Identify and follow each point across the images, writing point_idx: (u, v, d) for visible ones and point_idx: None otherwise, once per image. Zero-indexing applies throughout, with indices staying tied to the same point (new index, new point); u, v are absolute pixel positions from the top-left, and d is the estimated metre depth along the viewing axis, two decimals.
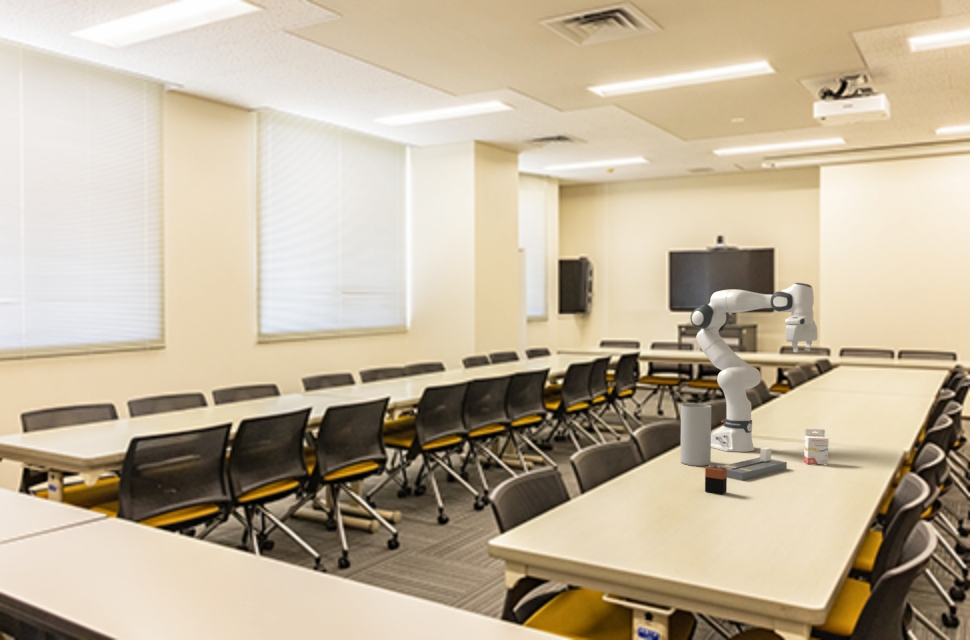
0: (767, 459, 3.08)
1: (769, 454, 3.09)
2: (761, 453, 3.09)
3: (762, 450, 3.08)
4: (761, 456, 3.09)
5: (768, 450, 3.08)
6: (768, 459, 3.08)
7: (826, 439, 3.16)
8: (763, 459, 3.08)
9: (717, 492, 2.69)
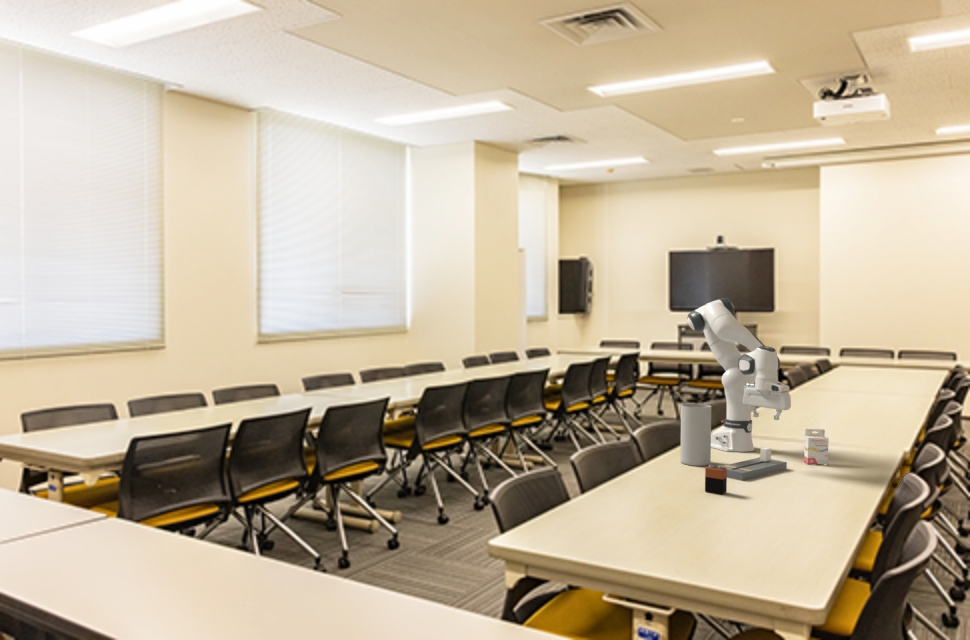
0: (767, 459, 3.08)
1: (769, 454, 3.09)
2: (761, 453, 3.09)
3: (762, 450, 3.08)
4: (761, 456, 3.09)
5: (768, 450, 3.08)
6: (768, 459, 3.08)
7: (826, 439, 3.16)
8: (763, 459, 3.08)
9: (717, 492, 2.69)
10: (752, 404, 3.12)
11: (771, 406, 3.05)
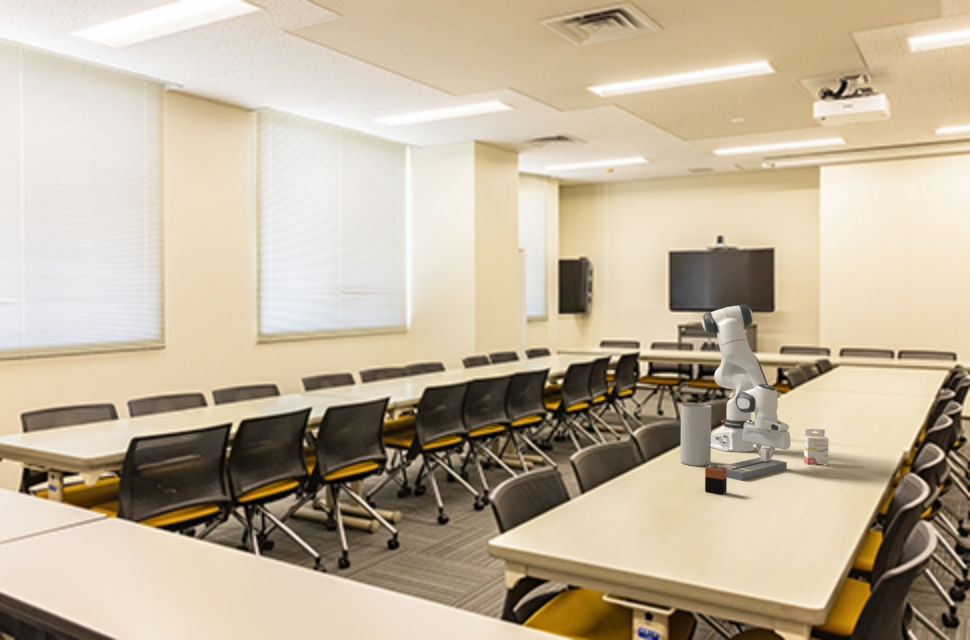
0: (767, 459, 3.08)
1: None
2: (761, 453, 3.09)
3: (762, 450, 3.08)
4: (761, 456, 3.09)
5: (768, 450, 3.08)
6: (768, 459, 3.08)
7: (826, 439, 3.16)
8: (763, 459, 3.08)
9: (717, 492, 2.69)
10: (752, 442, 3.12)
11: (770, 445, 3.05)
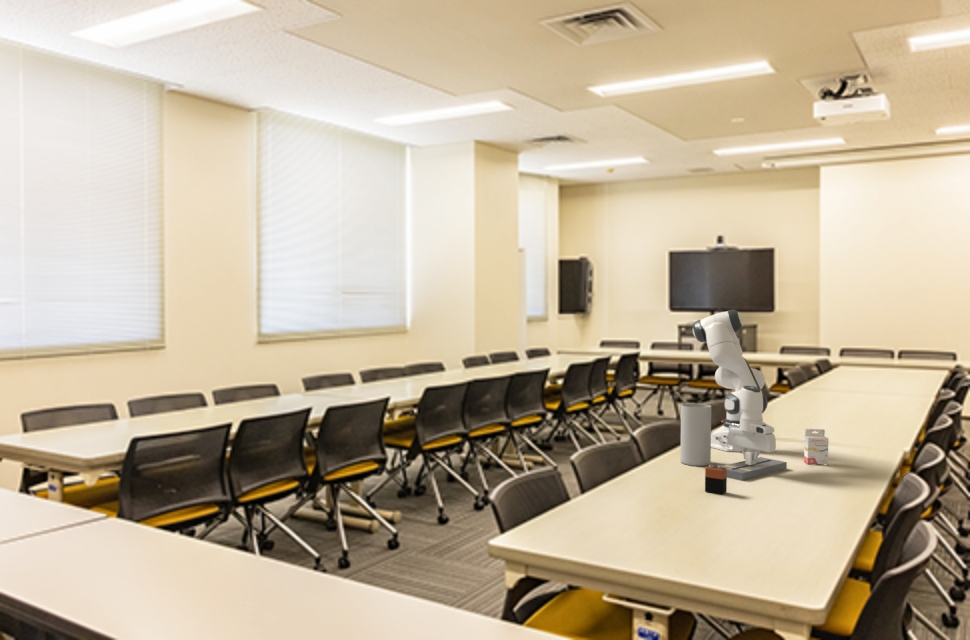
0: (752, 463, 3.01)
1: None
2: (746, 456, 3.02)
3: (747, 453, 3.01)
4: (746, 459, 3.02)
5: (753, 453, 3.02)
6: (753, 463, 3.02)
7: (826, 439, 3.16)
8: (748, 463, 3.01)
9: (717, 492, 2.69)
10: (737, 445, 3.05)
11: (755, 448, 2.99)
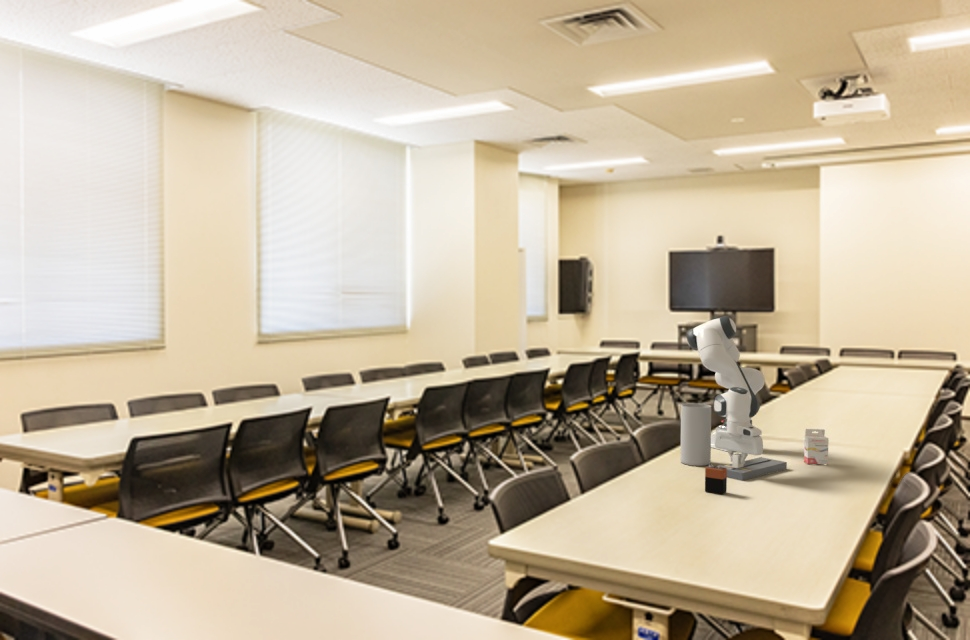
0: (739, 466, 2.96)
1: None
2: (733, 459, 2.96)
3: (734, 456, 2.96)
4: (733, 462, 2.96)
5: (740, 456, 2.96)
6: (740, 466, 2.96)
7: (826, 439, 3.16)
8: (735, 466, 2.96)
9: (717, 492, 2.69)
10: (724, 447, 3.00)
11: (742, 451, 2.93)
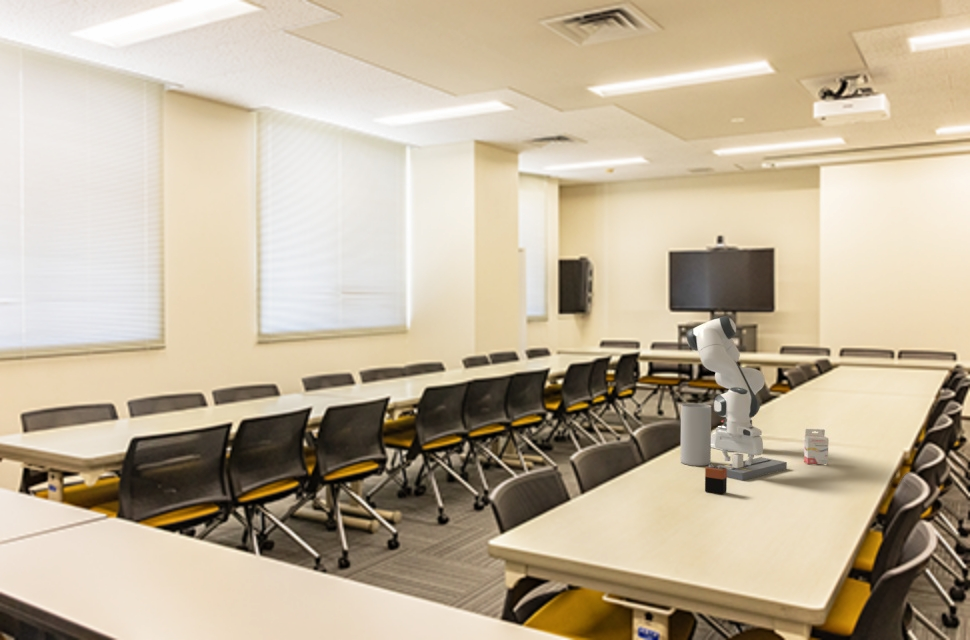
0: (739, 466, 2.96)
1: (741, 460, 2.97)
2: (733, 459, 2.96)
3: (734, 456, 2.96)
4: (733, 462, 2.96)
5: (740, 456, 2.96)
6: (740, 466, 2.96)
7: (826, 439, 3.16)
8: (735, 466, 2.96)
9: (717, 492, 2.69)
10: (724, 447, 3.00)
11: (742, 451, 2.93)
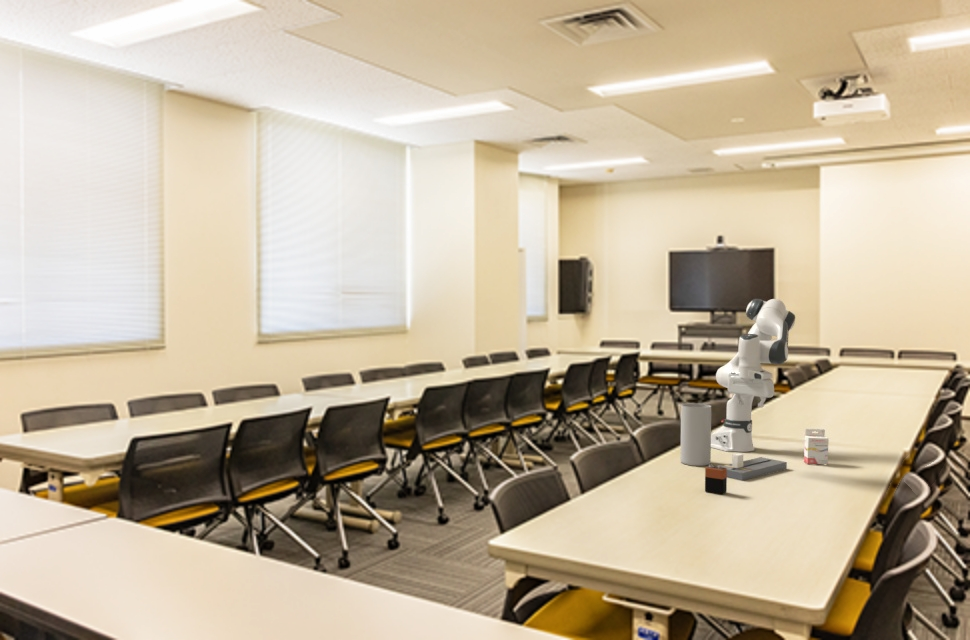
0: (739, 466, 2.96)
1: (741, 460, 2.97)
2: (733, 459, 2.96)
3: (734, 456, 2.96)
4: (733, 462, 2.96)
5: (740, 456, 2.96)
6: (740, 466, 2.96)
7: (826, 439, 3.16)
8: (735, 466, 2.96)
9: (717, 492, 2.69)
10: (736, 392, 3.12)
11: (754, 394, 3.05)
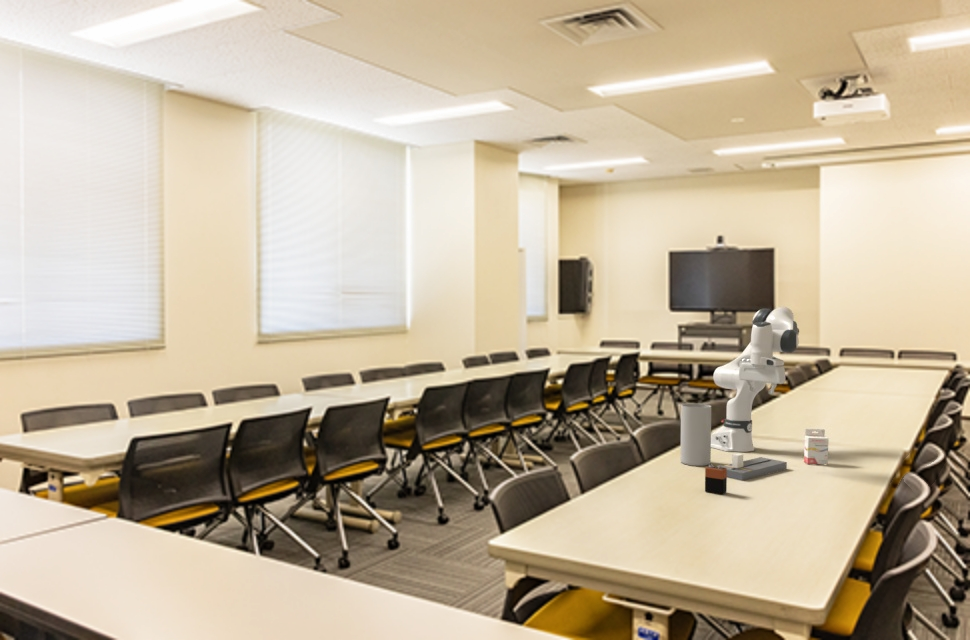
0: (739, 466, 2.96)
1: (741, 460, 2.97)
2: (733, 459, 2.96)
3: (734, 456, 2.96)
4: (733, 462, 2.96)
5: (740, 456, 2.96)
6: (740, 466, 2.96)
7: (826, 439, 3.16)
8: (735, 466, 2.96)
9: (717, 492, 2.69)
10: (747, 379, 3.18)
11: (766, 381, 3.11)
